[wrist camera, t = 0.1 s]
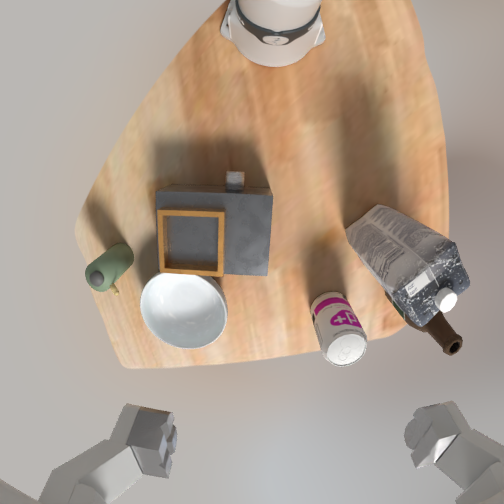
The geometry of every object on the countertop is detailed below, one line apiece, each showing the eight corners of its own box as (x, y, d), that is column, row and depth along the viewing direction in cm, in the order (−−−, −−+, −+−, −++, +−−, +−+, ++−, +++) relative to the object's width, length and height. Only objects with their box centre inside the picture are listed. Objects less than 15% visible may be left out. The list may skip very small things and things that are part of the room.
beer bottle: (378, 298, 60) (427, 369, 38) (387, 265, 58) (446, 327, 35) (408, 299, 60) (462, 365, 38) (417, 267, 58) (480, 325, 35)
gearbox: (171, 168, 52) (151, 173, 41) (271, 171, 52) (275, 177, 42) (172, 251, 57) (154, 274, 47) (265, 256, 57) (267, 281, 47)
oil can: (106, 258, 58) (78, 282, 47) (116, 237, 56) (88, 258, 45) (135, 278, 59) (112, 306, 48) (146, 258, 58) (123, 284, 46)
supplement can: (317, 286, 59) (334, 327, 45) (353, 295, 60) (377, 335, 46) (304, 319, 62) (315, 365, 48) (338, 327, 63) (357, 371, 48)
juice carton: (337, 229, 55) (396, 295, 30) (379, 196, 53) (463, 237, 28) (361, 263, 58) (422, 341, 32) (400, 231, 55) (482, 289, 30)
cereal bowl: (244, 313, 62) (243, 332, 55) (178, 339, 64) (171, 359, 58) (203, 242, 57) (196, 255, 50) (135, 277, 59) (123, 292, 53)
